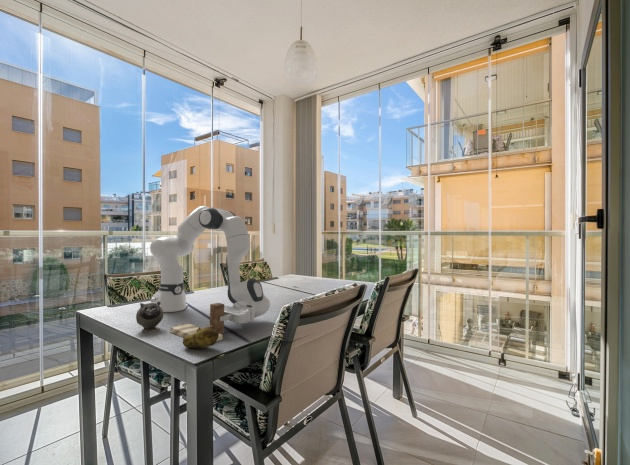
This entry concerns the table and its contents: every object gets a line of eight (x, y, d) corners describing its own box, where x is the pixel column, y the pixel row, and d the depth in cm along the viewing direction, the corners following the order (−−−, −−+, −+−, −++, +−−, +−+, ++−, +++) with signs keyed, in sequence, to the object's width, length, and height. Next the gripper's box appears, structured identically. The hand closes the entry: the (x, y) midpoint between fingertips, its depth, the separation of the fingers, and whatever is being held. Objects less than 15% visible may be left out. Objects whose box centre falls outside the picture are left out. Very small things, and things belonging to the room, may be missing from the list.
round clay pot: (142, 336, 129) (167, 329, 137) (142, 306, 129) (167, 302, 137) (132, 330, 136) (157, 324, 144) (132, 302, 135) (157, 298, 143)
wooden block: (194, 337, 127) (195, 307, 127) (217, 330, 136) (218, 302, 136) (200, 339, 125) (201, 309, 125) (223, 332, 134) (224, 304, 133)
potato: (198, 342, 124) (198, 321, 124) (222, 349, 117) (222, 327, 117) (179, 348, 116) (180, 327, 116) (203, 356, 110) (204, 333, 110)
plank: (170, 332, 134) (170, 327, 134) (187, 327, 141) (187, 323, 141) (205, 345, 120) (205, 340, 120) (222, 339, 127) (222, 334, 127)
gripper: (225, 300, 150) (200, 306, 138) (256, 307, 138) (231, 314, 126) (225, 314, 150) (199, 320, 138) (256, 322, 138) (231, 330, 127)
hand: (215, 317), depth 132 cm, fingers closed on wooden block, 4 cm apart
